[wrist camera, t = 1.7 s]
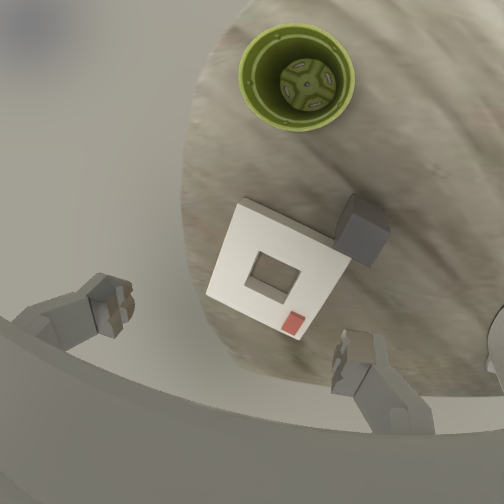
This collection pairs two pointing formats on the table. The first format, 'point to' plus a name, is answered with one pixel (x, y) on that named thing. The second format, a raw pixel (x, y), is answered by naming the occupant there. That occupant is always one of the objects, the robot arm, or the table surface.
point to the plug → (361, 230)
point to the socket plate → (285, 250)
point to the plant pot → (296, 77)
